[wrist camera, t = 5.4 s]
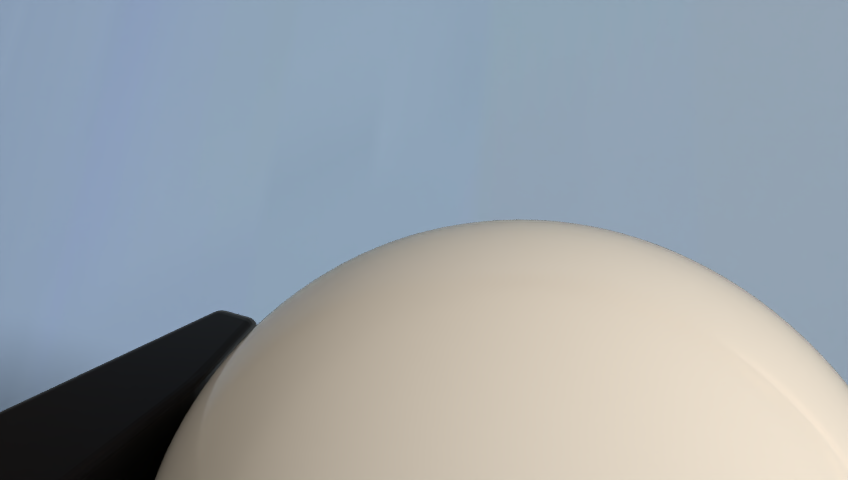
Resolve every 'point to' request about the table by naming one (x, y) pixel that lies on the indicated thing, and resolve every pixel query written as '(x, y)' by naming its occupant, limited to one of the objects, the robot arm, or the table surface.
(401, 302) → the lightbulb
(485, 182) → the table surface
